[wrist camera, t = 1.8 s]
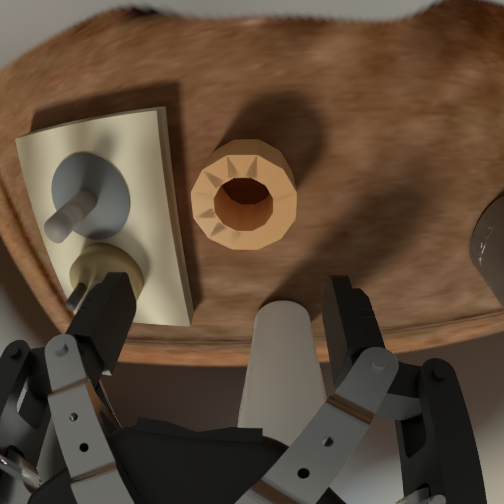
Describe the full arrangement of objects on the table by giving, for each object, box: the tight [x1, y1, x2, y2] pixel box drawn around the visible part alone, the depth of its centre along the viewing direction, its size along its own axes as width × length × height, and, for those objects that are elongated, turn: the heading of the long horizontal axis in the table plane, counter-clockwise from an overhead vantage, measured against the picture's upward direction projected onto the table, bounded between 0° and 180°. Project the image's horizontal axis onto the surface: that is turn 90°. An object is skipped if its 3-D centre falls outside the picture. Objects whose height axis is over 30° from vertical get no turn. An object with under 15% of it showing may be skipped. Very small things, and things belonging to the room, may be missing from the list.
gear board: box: [15, 106, 194, 326], centre depth 22 cm, size 13×19×7 cm
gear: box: [191, 139, 297, 250], centre depth 21 cm, size 6×6×4 cm
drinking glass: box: [238, 300, 327, 447], centre depth 24 cm, size 7×7×15 cm
